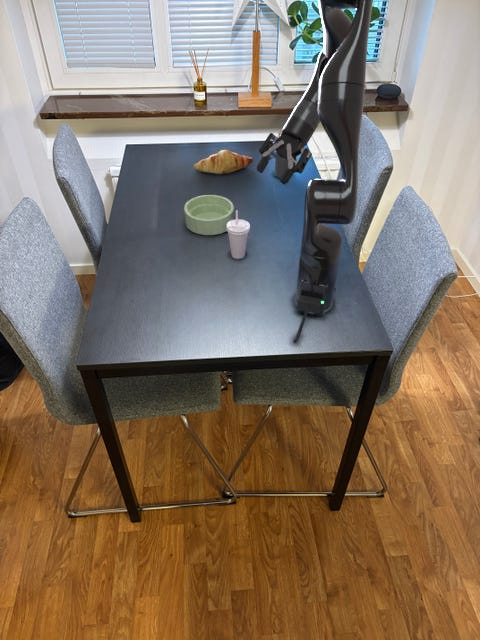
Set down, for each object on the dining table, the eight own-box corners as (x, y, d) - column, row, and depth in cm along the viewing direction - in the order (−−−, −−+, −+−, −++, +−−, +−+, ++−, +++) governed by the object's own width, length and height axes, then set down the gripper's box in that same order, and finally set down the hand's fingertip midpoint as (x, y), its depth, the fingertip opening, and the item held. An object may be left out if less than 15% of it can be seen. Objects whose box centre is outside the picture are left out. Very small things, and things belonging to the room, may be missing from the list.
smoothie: (236, 245, 145) (236, 202, 136) (254, 254, 142) (255, 210, 133) (222, 255, 142) (221, 211, 132) (239, 264, 139) (240, 220, 129)
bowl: (225, 240, 147) (224, 224, 144) (178, 232, 150) (176, 215, 147) (239, 214, 158) (239, 199, 154) (195, 207, 161) (194, 191, 157)
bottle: (293, 176, 176) (297, 134, 165) (278, 179, 174) (281, 137, 164) (286, 169, 180) (289, 127, 169) (271, 172, 178) (273, 130, 168)
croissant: (196, 184, 178) (196, 170, 171) (190, 160, 181) (191, 146, 174) (254, 176, 182) (257, 162, 174) (248, 153, 185) (250, 138, 177)
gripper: (276, 107, 133) (244, 162, 135) (318, 123, 126) (283, 181, 128) (289, 121, 139) (258, 174, 142) (329, 138, 132) (296, 193, 134)
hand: (270, 177), depth 135 cm, fingers open, 8 cm apart
